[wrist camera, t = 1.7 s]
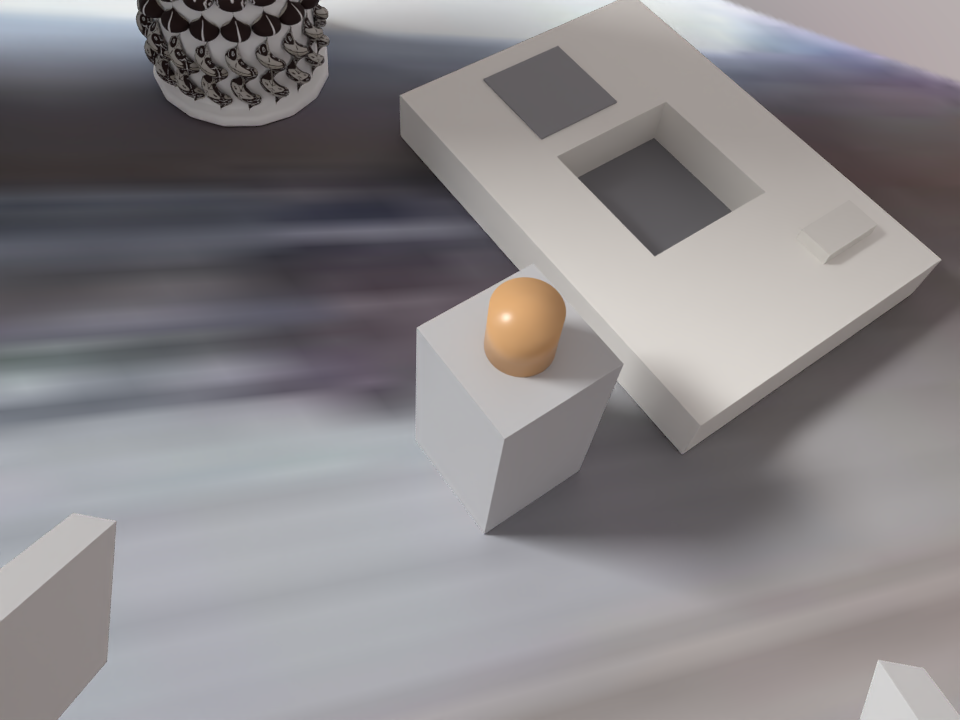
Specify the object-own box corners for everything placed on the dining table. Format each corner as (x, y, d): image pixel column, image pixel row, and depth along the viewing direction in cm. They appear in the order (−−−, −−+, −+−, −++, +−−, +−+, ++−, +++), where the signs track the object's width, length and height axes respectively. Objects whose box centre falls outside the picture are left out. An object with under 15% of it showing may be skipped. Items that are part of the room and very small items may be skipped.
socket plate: (400, 135, 41) (399, 84, 39) (621, 35, 46) (634, -17, 43) (682, 454, 34) (705, 418, 31) (911, 293, 38) (949, 250, 36)
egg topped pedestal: (415, 441, 33) (417, 289, 25) (509, 384, 35) (541, 223, 26) (484, 534, 31) (511, 406, 23) (579, 470, 33) (638, 328, 24)
